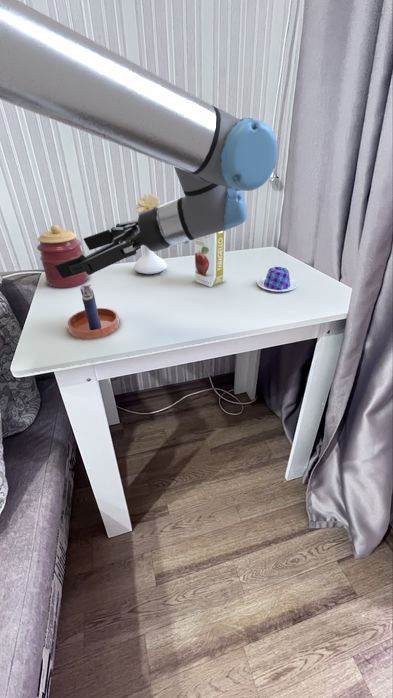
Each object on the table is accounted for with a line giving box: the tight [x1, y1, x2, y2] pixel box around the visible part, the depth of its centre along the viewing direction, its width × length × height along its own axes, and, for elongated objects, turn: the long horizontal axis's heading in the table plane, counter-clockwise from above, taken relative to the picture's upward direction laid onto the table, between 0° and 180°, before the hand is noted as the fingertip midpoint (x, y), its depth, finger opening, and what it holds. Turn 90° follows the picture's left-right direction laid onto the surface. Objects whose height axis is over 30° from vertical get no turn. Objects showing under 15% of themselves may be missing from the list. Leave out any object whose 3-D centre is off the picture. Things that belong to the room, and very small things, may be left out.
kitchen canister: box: [36, 224, 89, 289], centre depth 101 cm, size 13×13×18 cm
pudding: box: [256, 266, 298, 292], centre depth 99 cm, size 12×12×5 cm
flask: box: [80, 284, 101, 330], centre depth 78 cm, size 9×3×11 cm, turn 21°
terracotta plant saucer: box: [67, 307, 120, 340], centre depth 80 cm, size 12×12×2 cm
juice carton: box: [194, 230, 227, 288], centre depth 99 cm, size 8×9×19 cm
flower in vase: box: [133, 193, 168, 275], centre depth 105 cm, size 13×11×25 cm
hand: (74, 256), depth 68 cm, fingers open, 13 cm apart
